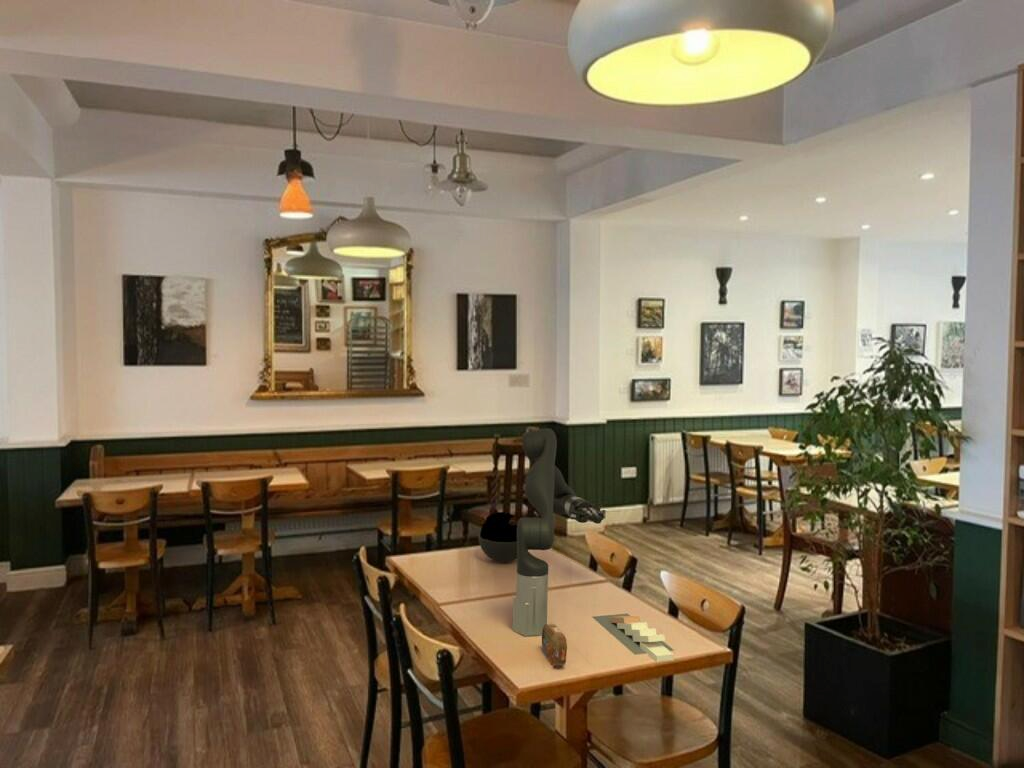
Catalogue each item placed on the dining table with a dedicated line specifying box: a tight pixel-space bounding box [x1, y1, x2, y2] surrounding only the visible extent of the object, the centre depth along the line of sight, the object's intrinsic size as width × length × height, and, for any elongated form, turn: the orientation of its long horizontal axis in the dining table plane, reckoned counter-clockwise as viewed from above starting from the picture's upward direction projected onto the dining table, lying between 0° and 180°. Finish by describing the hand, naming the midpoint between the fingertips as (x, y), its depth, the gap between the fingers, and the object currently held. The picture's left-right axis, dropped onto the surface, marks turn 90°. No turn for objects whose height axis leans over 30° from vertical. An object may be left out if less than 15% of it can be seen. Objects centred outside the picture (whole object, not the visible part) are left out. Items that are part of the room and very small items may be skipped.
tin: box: [541, 623, 568, 667], centre depth 202 cm, size 15×3×8 cm, turn 14°
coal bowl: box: [477, 511, 517, 564], centre depth 294 cm, size 20×20×19 cm
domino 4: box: [632, 633, 666, 642], centre depth 211 cm, size 2×5×10 cm
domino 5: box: [640, 641, 675, 663], centre depth 206 cm, size 2×5×10 cm
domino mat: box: [592, 613, 675, 655], centre depth 222 cm, size 30×12×1 cm, turn 17°
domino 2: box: [617, 621, 649, 630], centre depth 221 cm, size 2×5×10 cm
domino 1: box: [610, 615, 641, 623], centre depth 225 cm, size 2×5×10 cm
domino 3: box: [625, 627, 657, 636], centre depth 216 cm, size 2×5×10 cm
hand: (598, 520), depth 244 cm, fingers closed
